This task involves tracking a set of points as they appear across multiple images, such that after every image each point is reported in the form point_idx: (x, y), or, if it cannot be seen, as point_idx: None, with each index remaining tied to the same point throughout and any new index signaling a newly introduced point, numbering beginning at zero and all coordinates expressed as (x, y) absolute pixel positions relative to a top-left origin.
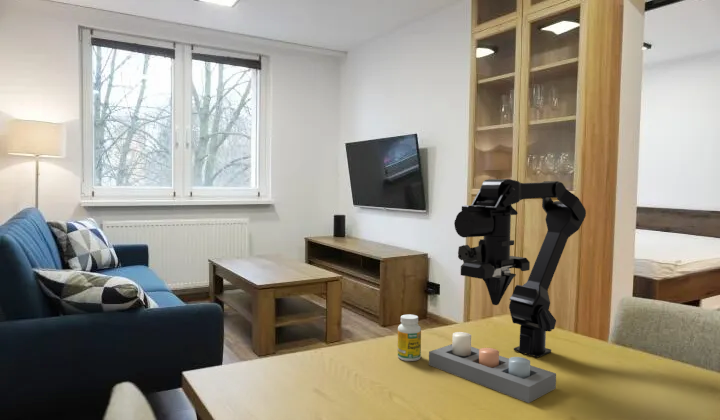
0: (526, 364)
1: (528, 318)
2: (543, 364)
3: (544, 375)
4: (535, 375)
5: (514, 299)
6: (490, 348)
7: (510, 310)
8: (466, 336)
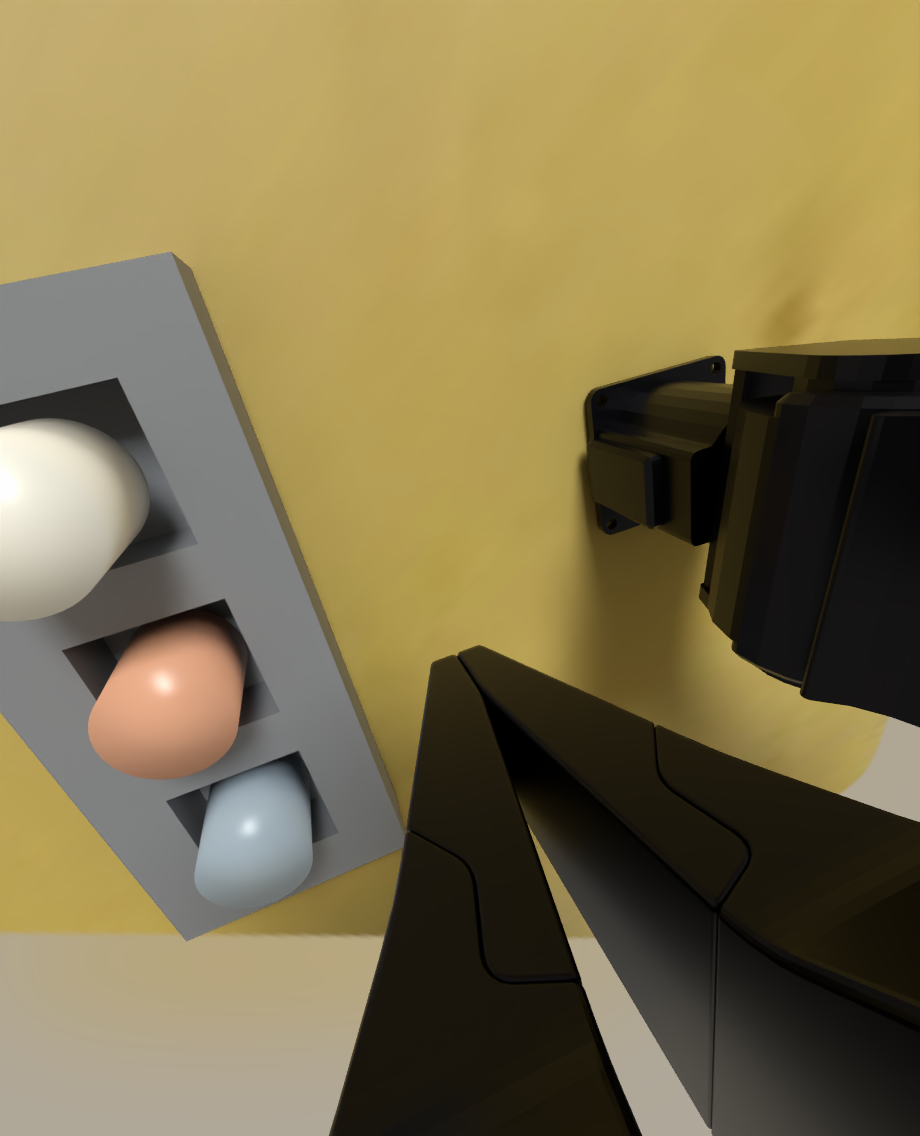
0: (258, 903)
1: (713, 593)
2: (555, 598)
3: (344, 857)
4: None
5: (873, 490)
6: (209, 690)
7: (759, 417)
8: (24, 595)
